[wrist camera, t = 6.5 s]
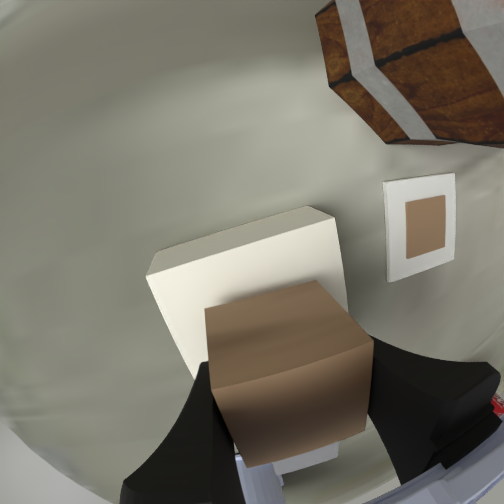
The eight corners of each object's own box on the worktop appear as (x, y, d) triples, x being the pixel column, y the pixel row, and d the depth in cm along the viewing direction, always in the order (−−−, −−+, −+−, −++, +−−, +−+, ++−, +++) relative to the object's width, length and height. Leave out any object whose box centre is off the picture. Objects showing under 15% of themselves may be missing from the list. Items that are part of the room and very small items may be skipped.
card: (450, 258, 20) (455, 260, 19) (386, 280, 19) (391, 284, 19) (451, 172, 18) (456, 173, 17) (382, 181, 17) (387, 182, 16)
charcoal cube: (317, 415, 23) (337, 456, 18) (263, 431, 22) (276, 475, 17) (315, 378, 21) (339, 423, 16) (253, 396, 20) (267, 445, 16)
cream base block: (328, 328, 20) (353, 360, 16) (207, 368, 19) (210, 408, 15) (305, 204, 17) (334, 217, 13) (157, 250, 16) (145, 276, 13)
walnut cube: (323, 363, 14) (364, 430, 10) (230, 389, 14) (246, 468, 9) (316, 279, 13) (373, 340, 8) (204, 308, 12) (211, 389, 8)
